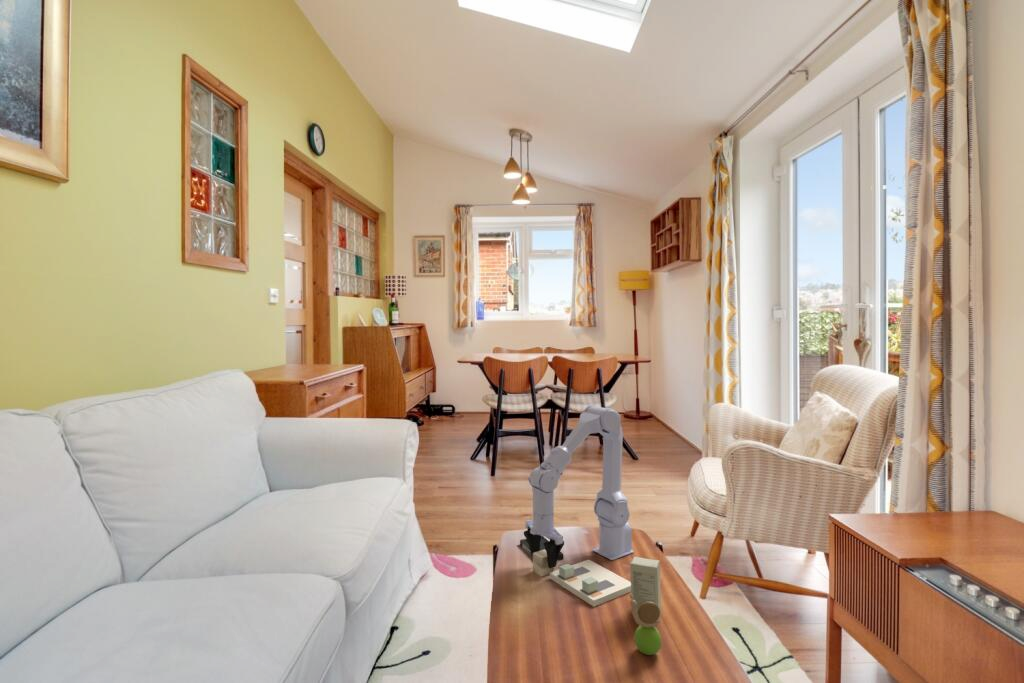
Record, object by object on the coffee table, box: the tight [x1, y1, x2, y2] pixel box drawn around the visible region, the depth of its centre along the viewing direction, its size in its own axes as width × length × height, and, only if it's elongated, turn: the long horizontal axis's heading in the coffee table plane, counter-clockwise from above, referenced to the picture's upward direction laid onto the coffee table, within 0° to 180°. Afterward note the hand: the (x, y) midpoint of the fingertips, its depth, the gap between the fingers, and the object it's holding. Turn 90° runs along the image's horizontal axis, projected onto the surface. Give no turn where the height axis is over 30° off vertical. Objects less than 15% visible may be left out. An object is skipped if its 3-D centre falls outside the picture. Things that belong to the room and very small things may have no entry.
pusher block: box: [532, 550, 554, 578], centre depth 137 cm, size 4×4×5 cm
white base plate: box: [549, 559, 631, 608], centre depth 130 cm, size 14×17×2 cm
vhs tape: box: [519, 536, 564, 561], centre depth 150 cm, size 14×8×2 cm, turn 21°
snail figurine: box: [629, 593, 663, 656], centre depth 102 cm, size 5×6×12 cm
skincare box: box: [629, 556, 662, 620], centre depth 116 cm, size 6×4×12 cm
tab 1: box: [558, 563, 574, 579], centre depth 131 cm, size 3×2×2 cm
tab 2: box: [582, 577, 598, 593], centre depth 124 cm, size 3×2×2 cm
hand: (543, 561), depth 137 cm, fingers open, 7 cm apart
